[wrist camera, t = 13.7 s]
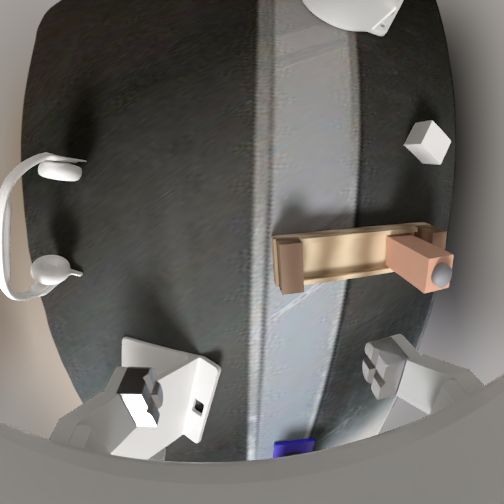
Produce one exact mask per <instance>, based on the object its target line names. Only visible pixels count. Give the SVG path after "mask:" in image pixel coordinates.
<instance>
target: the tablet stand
mask: <svg viewBox="0 0 504 504" xmlns="http://www.w3.org/2000/svg"><path fill="white" fill-rule="evenodd" d="M122 367H152V368H154V369H155V371H156V374H157V377H156V381H158V382H159V383H160V384H161V387H162V391H163V404H162V406H161V407H160V408H159V409H158V411H159V413H160V416H159V420H158V425H157V427H153V426H137V427H136V428H135V429H134V430H133V431H132V432H131V433H130V434H129V436H128V437H127V438H126V439H125V440H124V441H123V442H122V443H121V444H120V445H119V446H118V447H117V448H116V449H115V450H114V451H113V452H112V453H111V455H117V456H123V457H130V458H137V459H146V460H148V459H149V458H150V457H152V456H153V455H155V454H156V453H158V452H159V451H161V450H162V449H163V448H165V447H166V446H168V445H169V444H170V443H172V442H173V441H175V440H176V439H177V438H179V437H180V436H181V435H185V436H187V437H188V438H189V439H191V440H192V441H193V442H195V443H198V442H200V441H201V437H202V434H203V430H204V427H205V423H206V420H207V417H208V413H209V410H210V406H211V403H212V399H213V396H214V393H215V389H216V386H217V382H218V379H219V375H220V372H221V368H220V366H219V365H217V364H216V363H214V362H213V361H211V360H209V359H208V358H206V357H205V356H200V355H196V354H191V353H187V352H183V351H179V350H174V349H170V348H166V347H162V346H159V345H155V344H151V343H148V342H144V341H140V340H137V339H133V338H130V337H124V338H123V339H122ZM196 399H197V400H198V401H200V402H201V403H202V404H204V409H203V412H202V413H200V412H199V411H197V410H196V409H195V403H196Z"/></svg>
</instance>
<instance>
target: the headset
mask: <svg viewBox="0 0 504 504" xmlns="http://www.w3.org/2000/svg"><path fill="white" fill-rule="evenodd" d="M45 160H53V161H45ZM40 162H41V163H40ZM67 162H71V163H78V162H87V161H86V160H80V159H74V158H68V157H61V156H57V155H54V154H51V153H47V152H45V153H42V154H37V155H35V156H33V157H30V158H28V159H27V160H25V161H23V162H22V163H20V164H19V165H17V166H16V167H15V168H14V169H13V170H12V171H11V172H10V173H9V174H8V176H7V177H6V179H5V180H4V182H3V184H2V186H1V189H0V288H1V290H2V291H3V292H4V293H5V295H6V296H7V297H9V298H11V299H13V300H21V301H23V300H30V299H33V298H36V297H39V296H44V295H46V294H48V293H49V292H50V291H51V290H52V289H53V288H55V287H56V286H57V285H58V284H59V283H61V282H62V281H64V280H65V279H66V278H67V277H68V276H69V275H76V276H82V275H83V273H82V272H79V271H76V270H73V269H70V264H69V262H68V261H67V260H66V259H65V258H64V257H61V256H58V255H46V256H42V257H40V258H38V259H36V260H35V261H34V262H33V264H32V266H31V271H30V272H31V276H32V278H33V279H34V280H35V281H36V282H35V283H34V284H33V285H32V286H31V287H30V290H29V291H25V292H20V293H15V292H13V291H12V290H11V289H10V287H9V285H8V282H9V279H10V273H11V272H10V271H11V270H10V269H11V267H10V227H11V212H12V207H11V202H10V200H9V199H8V198H9V195H10V193H11V190H12V188H13V186H14V185H15V183H16V182H17V180H18V179H19V178H20V177H21V176H22V175H23V174H24V173H25V172H26V171H27V170H29V169H30V168H31V167H33V166H35V165H36V164H38V163H40V165H39V167H38V173H39V175H40V176H42V177H45V178H49V179H55V180H62V181H77V180H79V179H80V177H81V175H82V169H81V168H80V167H78V166H76V165H73V164H70V163H67Z"/></svg>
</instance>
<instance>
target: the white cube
mask: <svg viewBox="0 0 504 504" xmlns="http://www.w3.org/2000/svg"><path fill="white" fill-rule="evenodd" d="M450 143H451V140H450V139H449V138H448V137H447V136H446V135H445V133H444V132H443V131H442V130H441V129H440V128H439V127H438V126H437V125H436V123H435V122H434V121H433V120H430V121H423V122H417V123H415V124H414V126H413V128H412V130H411V132H410V134H409V136H408V138H407V139H406V141H405V143H404V146H405V147H406V148H407V149H409V150H410V151H411V152H412V153H413V154H414V155H415V156H416V157H417V158H418V159H419V160H420V161H421V162H422V163H423V164H439V165H441V163H442V161H443V158H444V156H445V154H446V152H447V150H448V147H449V145H450Z"/></svg>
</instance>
